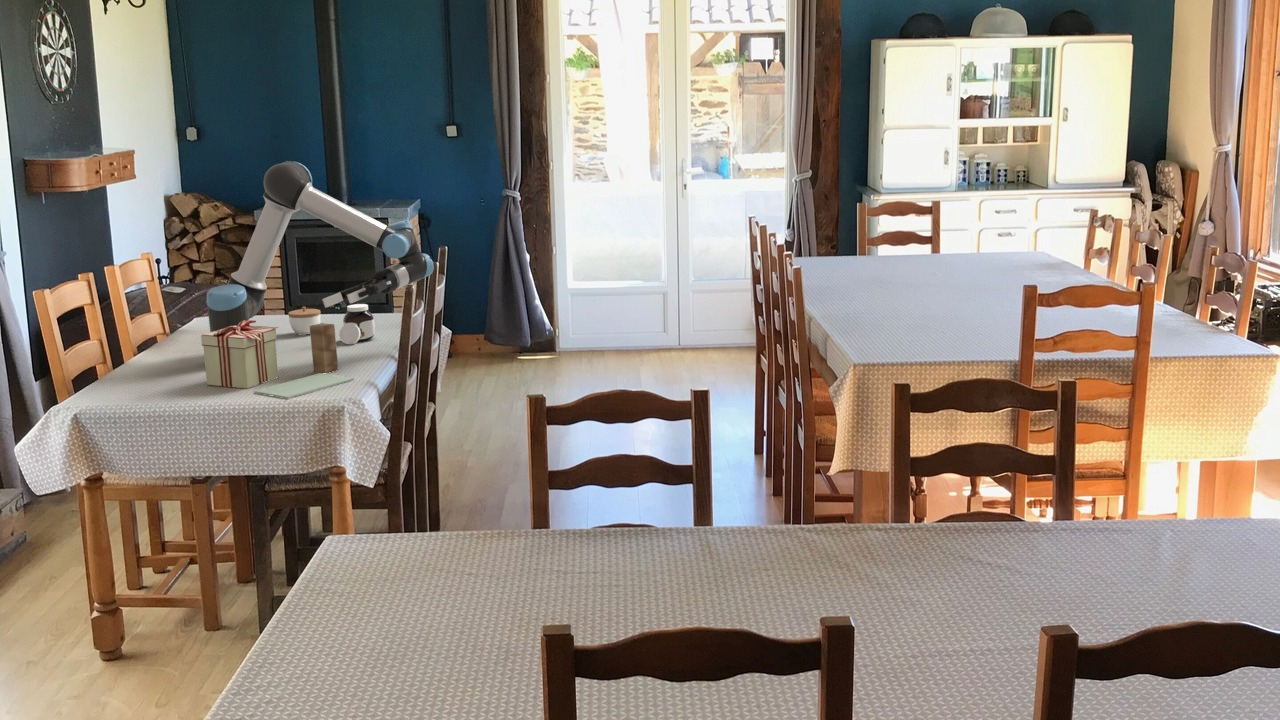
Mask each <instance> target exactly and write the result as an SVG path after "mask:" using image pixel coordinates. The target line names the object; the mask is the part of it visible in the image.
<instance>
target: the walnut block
mask: <svg viewBox="0 0 1280 720" xmlns="http://www.w3.org/2000/svg"><path fill="white" fill-rule="evenodd" d="M335 329H336V328H335V323H334V324H333V323H326V322H320V324H316V325H312V326H310V335H309V336H310V345H311V353H312V354H311V356H312V367H313V368H312V369H313V373H316V372H319V373H327V374H330V373H329V372H331V373H333V372H332V371H334V372H337V371H336V370H338V371H339V364H338V363H339V362H338V352H337V341H336V331H335Z"/></svg>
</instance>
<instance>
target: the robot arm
mask: <svg viewBox="0 0 1280 720" xmlns="http://www.w3.org/2000/svg"><path fill="white" fill-rule="evenodd" d="M263 187H264V193H263V195H262V197H263V198H264V199H263V200H264V201H265V204H264V207H263V208H262V211H261V213H260V216H259V218H258V221H257V224H256V225H255V229H254V231H253V232H252V233H253V234H252V236H251V238H250V241H249V243H248V246H247V248H246V251H245V252H244V255H243V258H242V260H241V262H240V265H239V268H238V269H237V270H236V271H234V272H232V273H231V274H230V276H229V279H228V281H227V284H222V285H218V286H214V287H212V288H210V289H209V290H208V291H207V293H206V306H207V313H208V314H207V316H208V324H209V333H210V332H213V331H217V330H220V329H224V328H227V327H229V326H237V324H239V323H240V322H241V321H243V320H251V319H252V318H253V317H255V316H256V315H258V314H259V313H260V311H261V309H262V308H263V305H264V301H265V298H264V296H265V293H266V291H267V289H268V285H267V284H266V282H265V281H266V278H267V276H268V273H269V271H270V268H271V267H272V263H273V261H274V258H275V257H276V253H277V252H278V249H279V246H280V244H281V242H282V239H283V237H284V235H285V232H286V230H287V227H288V225H289V223H290V220H291V218H292V215H293V214H294V213H296V212H299V211H300V210H301V211H304V212H306V213H308V214H310V215H311V216H313V217H315V218H318V219H320V220H322V221H323V222H326V223H328V224H330V225H332V226H333V227H335V228H337V229H339V230H341V231H343V232H345V233H347V234H348V235H351V236H353V237H355V238H357V239H359V240H361V241H363V242H365V243H367V244H369V245H371V246H373V247H374V248H377V249H378V250H379V251H381V252H383V253H384V255H386V256H387V257H388V258H390V259H394V260H395V259H396V260H398V263H397V262H396V263H395V264H391V265H389V266H387V267H385V268H383V269H380V270H378V271H377V270H376V272H375V273H374V275H373V279H369V280H367V281H365V282H363V283H359V284H357V285H355V286H352V287H349V288H347V289H344V290H340V291H337V292H336V293H335V294H332V295H329V296H327V297H324V298H322V299H321V301H322V303H323V306H324V308H327V309H328V308H329V307H331V306H334V305H336V304H338V303H344V302H345V301H344V300H348V302H349V305H352V304H353V303H356V302H358V301H360V300H362V299H365V298H368V297H369V296H373V295H378V294H379V293H381V294H383V295H387V294H389V293H392V292H394V291H397V290H399V289H400V290H404V287H407V286H408V285H411V284H414V283H415V282H419V281H421V280H423V279H425V278H427V277H429V276H431V275H432V274H433V272H434V269H435V267H434V261H433V260H432V258H431V256H430V255H429V254H427V253H422V251H421V249H420V247H419V243H418V241H417V237H416V235H415V232H414V228H413V226H412V224H411V222H410V220H408V219H404V220H401V221H397V222H393V223H391V224H389V225H386V224H385V223H383V222H381V221H379V220H376V219H375V218H373V217H371V216H369V215H367V214H366V213H364V212H361V211H359V210H358V209H356V208H354V207H352V206H350V205H348V204H346V203H344V202H342V201H340V200H338V199H336V198H334V197H332V196H331V195H329V194H326V193H325V192H323V191H321V190H319V189H317V188H315V187H314V186H313V177H312V173H311V171H310V170H309V169H308V168H307V167H306V166H305V165H303V164H302V163H300V162H297V161H293V160H292V161H291V160H289V161H288V160H286V161H284V162H282V163H277V164H274V165H273V166H270V167H269V168H268V170H267V171H266V172H265V174H264V176H263Z"/></svg>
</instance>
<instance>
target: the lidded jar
mask: <svg viewBox="0 0 1280 720" xmlns="http://www.w3.org/2000/svg"><path fill="white" fill-rule="evenodd" d="M287 313H288V314H287V316H288V320H289V325H290V328H291V329H292V331H293V332H294V333H295V334H296V335H297V334H300V335H299V336H306V335H305V334H310V326H312V325H316V324H320V323H322V321H321V319H322V317H321V313H322V312H321V310H320V309H317V308H307V307H306V306H302V308H300V309H295V310H291V311H288V312H287Z"/></svg>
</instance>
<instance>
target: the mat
mask: <svg viewBox="0 0 1280 720" xmlns="http://www.w3.org/2000/svg"><path fill="white" fill-rule="evenodd" d="M351 380H353V381H354V380H355V379H354V378H353V377H349V376H341V375H336V374H335V375H334V374H330V373H327V374H323V373H315V374H312V375H307V376H305V377H301V378H298V379H294V380H293V379H292V380H290V381H287V382H283V383H279V384H275V385H271V386H269V387H265V388H261V389H257V390H254V394H256V393H259V394H258V395H262V394H266V395H265V396H268V395H273V396H278V397H277V398H279V397H283V398H282V399H285V398H291V399H293V398H292V397H294V398H296V397H295V396H298V397H300V396H299V395H301V396H304V395H303V394H305V395H307V393H308V394H311V392H312V393H315V392H318V391H321V389H322V390H324V388H325V389H328V388H327V387H329V388H331V387H330V386H332V387H335V386H334V385H336V386H338V385H337V384H339V385H342V384H341V383H343V384H345V383H344V382H346V383H348V382H347V381H349V382H352V381H351ZM317 390H318V391H317ZM314 391H315V392H314ZM273 396H272V397H273Z"/></svg>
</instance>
